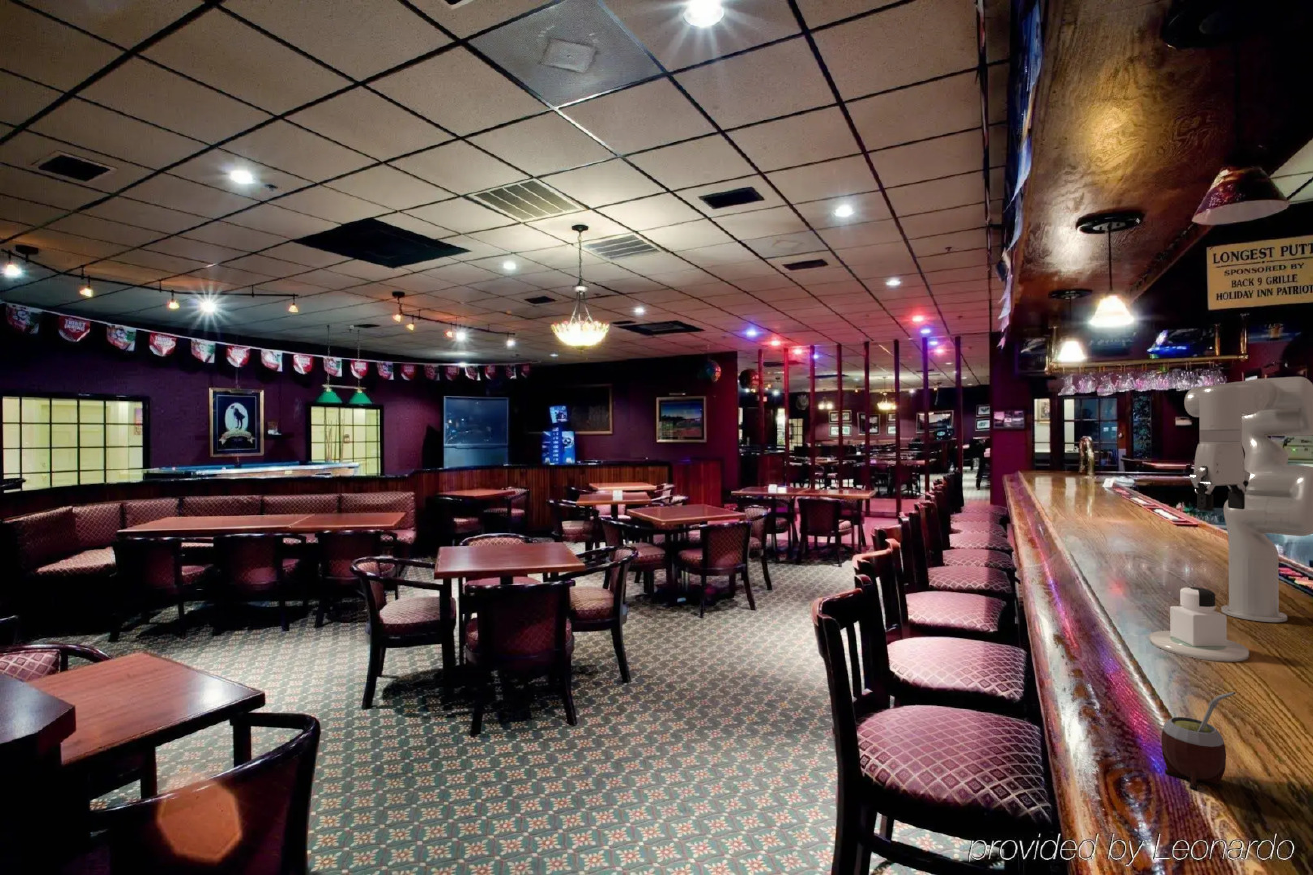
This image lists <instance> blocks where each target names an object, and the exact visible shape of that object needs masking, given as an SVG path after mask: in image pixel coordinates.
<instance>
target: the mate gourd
mask: <svg viewBox="0 0 1313 875" xmlns="http://www.w3.org/2000/svg"><path fill="white" fill-rule="evenodd" d="M1236 694H1237V693H1236V691H1233V692H1227V693H1223V694H1219V695H1217V696H1216V697H1214V698H1212V699H1211V700H1209V702H1208V708H1207V710H1206V712H1205V714H1204V717H1203V718H1202V720H1199V719H1196V718H1191V717H1187V716H1186V717H1185V716H1184V717H1183V716H1174V717H1171V718H1169V719H1168V720H1167V721H1165V723H1164V724H1163V726H1162V727H1163V728H1162V729H1161V730H1162V731H1161V751H1162V753H1161V754H1162V757H1163V761H1164V763H1165V767H1166V769H1164V773H1165V775H1167V776H1169V777H1174V778H1177V779H1181V780H1185V781H1188V782H1189V790H1193V791H1196V792H1197V791H1198V784H1200V785H1205V786H1208V787H1211V788H1212V787H1213V788H1216V789H1220V790H1222V789H1223V786H1224V784H1223V783H1222V782H1221V781H1222V779H1223V776H1224V774H1225V770H1226V765H1227V764H1226V763H1227V761H1226V760H1227V751H1226V745H1225V741H1224V740H1225V739H1224V738H1223V736H1222V734H1221V733H1220V732H1219V730H1218V729H1217V728H1216V727H1214V726H1213V725H1211V724H1210V723H1208V722H1209V720H1210V718H1211V716H1212V714H1213V711H1214V710H1215V709H1216V707H1217V706H1218V705H1219V702H1220V701H1222V700H1223V699H1226V698H1228V697H1231V696H1233V695H1236Z"/></svg>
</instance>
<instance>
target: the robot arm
mask: <svg viewBox="0 0 1313 875" xmlns="http://www.w3.org/2000/svg"><path fill="white" fill-rule="evenodd" d="M1183 402H1184V403H1183V404H1184V408H1185V411H1186V412H1187V414H1188V415H1190V416H1192V417H1194V418H1199V443H1198V444H1197V447H1196V450H1195V456H1194V467H1193V473H1192V474H1190V475H1189V476H1190V477H1189V479H1190V481H1191V483H1192V488H1193V489H1194V492H1195V494H1196V509H1197V510H1198V511H1206V512H1213V511H1214V494H1213V493H1212V492H1213V490H1214V489H1215V487H1216V486H1218V487H1222V486H1224V487H1225V486H1227V487H1228V489H1229V491H1227V500H1226V501H1225V502H1224V505H1223V517H1224V521H1225V525H1226V531H1227V532H1226V533H1227V539H1228V540H1227V543H1228V604H1226V605H1222V606H1221V607H1220V611H1221V612H1222V614H1225V615H1226V616H1227V615H1228V616H1231V617H1234V618H1237V619H1243V620H1248V621H1255V622H1263V623H1284V622H1287V621H1288V615H1287V614H1286V613H1284V612H1282V611H1280V610H1279V609H1280V607H1279V606H1280V605H1279V604H1280V602H1279V601H1280V600H1279V595H1280V594H1279V583H1280V582H1279V577H1280V576H1279V575H1280V574H1279V550H1278V547H1277V546H1276V545H1275V544H1274V543H1273V541H1272V540H1271V539H1270V538H1269V537H1268V536H1267V535H1271V534H1273V535H1281V536H1283V535H1284V536H1296V537H1306V536H1310V535H1312V534H1313V466H1309V465H1299V464H1298V465H1297V464H1296V465H1295V464H1288V462H1289V454H1288V453H1287V451H1286V450H1285V449H1284V448H1283V447H1282V446H1281V445H1280V444H1279V443H1277V442H1275V441H1274V440H1272V439H1271V438H1269V437H1309V436H1310V437H1311V436H1313V382H1311V381H1310V380H1309V379H1308V378H1306V377H1304V376H1285V377H1268V378H1255V379H1248V380H1243V381H1233V382H1227V383H1219V384H1215V385H1214V384H1213V385H1206V386H1204V385H1203V386H1197V387H1193V388H1191V389H1189V390H1188V391H1187V393H1186V394H1185V397H1184V401H1183ZM1266 534H1267V535H1266Z"/></svg>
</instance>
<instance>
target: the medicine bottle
mask: <svg viewBox="0 0 1313 875" xmlns="http://www.w3.org/2000/svg"><path fill="white" fill-rule="evenodd" d="M1179 590H1180V592H1179V595H1180V596H1179V597H1180V603H1179V604H1180V605H1179V606H1178V605H1175V606H1174V605H1171V606H1170V607H1169V614H1170V615H1169V617H1170V619H1169V621H1170V623H1169V624H1170V626H1169V627H1170V630H1169V631H1170V635H1171V637H1173V638H1176V639H1178V640H1180V641H1183V642H1185V643H1187V644H1189V645H1192V646H1203V647H1226V646H1227V640H1228V638H1227V637H1228V636H1227V635H1228V634H1227V633H1228V632H1227V630H1228V628H1227V624H1228V623H1227V621H1228V620H1227V614H1225V613H1223V612H1222V613H1221V612H1219V611H1216V593H1215V592H1214V591H1212V590H1210V589H1207V588H1203V587H1195V586H1187V587H1181V589H1179Z"/></svg>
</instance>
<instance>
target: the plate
mask: <svg viewBox="0 0 1313 875" xmlns="http://www.w3.org/2000/svg"><path fill="white" fill-rule="evenodd" d="M1149 643H1150V644H1151V645H1152V646H1154V647H1156V648H1158V649H1160V648H1161V650H1162V649H1163V651H1166V652H1169V653H1172V654H1174V653H1176V654H1175V655H1179V656H1181V657H1185V658H1187V657H1188V658H1192V657H1193V658H1192V659H1197V660H1205V661H1213V662H1224V663H1227V662H1228V663H1229V662H1230V663H1233V662H1234V663H1235V662H1242V661H1246V660H1248V659H1249V657H1250V649H1248V647H1246V646H1244V645H1242V644H1241V643H1238V642H1237V641H1236V642H1235V641H1232V640H1229V639H1227V646H1226V647H1203V646H1192V645H1189V644H1187V643H1185V642H1183V641H1180V640H1178V639H1176V638H1173V637H1171V635H1170V630H1157V631H1154V632H1152V633H1150V634H1149Z"/></svg>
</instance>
